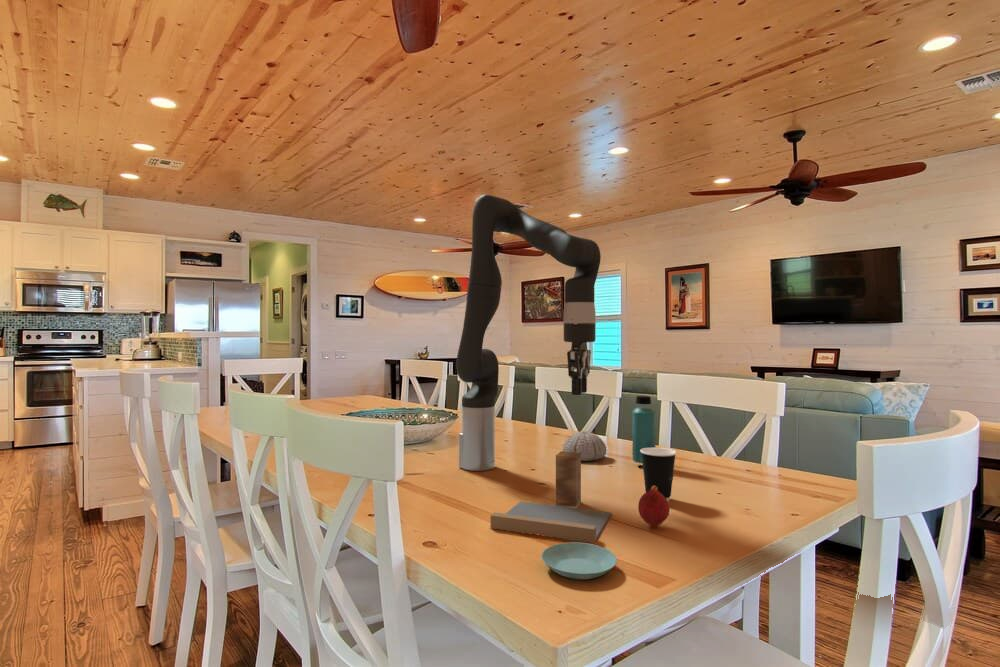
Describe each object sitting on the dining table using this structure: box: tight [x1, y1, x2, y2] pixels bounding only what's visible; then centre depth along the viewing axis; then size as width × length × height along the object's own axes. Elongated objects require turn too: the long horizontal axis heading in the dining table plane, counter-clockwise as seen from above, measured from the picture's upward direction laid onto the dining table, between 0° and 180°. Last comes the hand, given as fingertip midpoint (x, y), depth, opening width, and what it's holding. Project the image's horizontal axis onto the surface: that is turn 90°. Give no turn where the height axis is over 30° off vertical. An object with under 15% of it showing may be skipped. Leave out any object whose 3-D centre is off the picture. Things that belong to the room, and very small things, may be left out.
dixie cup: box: [640, 447, 678, 502], centre depth 124 cm, size 8×8×11 cm
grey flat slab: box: [490, 501, 612, 544], centre depth 109 cm, size 20×17×2 cm
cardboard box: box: [555, 450, 582, 508], centre depth 120 cm, size 4×4×11 cm
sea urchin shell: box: [562, 431, 608, 462], centre depth 165 cm, size 13×14×8 cm
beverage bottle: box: [631, 395, 657, 464], centre depth 155 cm, size 6×7×20 cm
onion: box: [637, 485, 671, 528], centre depth 106 cm, size 6×6×8 cm
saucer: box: [540, 541, 617, 581], centre depth 87 cm, size 12×12×2 cm
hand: (579, 393), depth 129 cm, fingers open, 5 cm apart
